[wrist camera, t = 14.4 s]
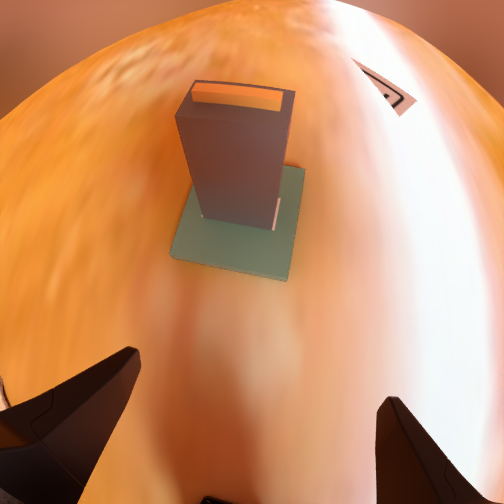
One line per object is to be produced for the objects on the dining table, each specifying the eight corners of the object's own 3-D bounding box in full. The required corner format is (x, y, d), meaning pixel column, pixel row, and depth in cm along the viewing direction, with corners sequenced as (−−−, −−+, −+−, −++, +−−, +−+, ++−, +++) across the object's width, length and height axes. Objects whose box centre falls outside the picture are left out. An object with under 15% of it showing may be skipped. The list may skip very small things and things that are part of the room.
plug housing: (271, 230, 25) (289, 118, 13) (203, 217, 25) (171, 105, 13) (278, 196, 26) (297, 80, 14) (213, 185, 26) (193, 69, 14)
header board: (286, 281, 24) (292, 266, 21) (172, 257, 25) (159, 239, 21) (303, 175, 28) (310, 149, 25) (206, 158, 29) (201, 132, 25)
